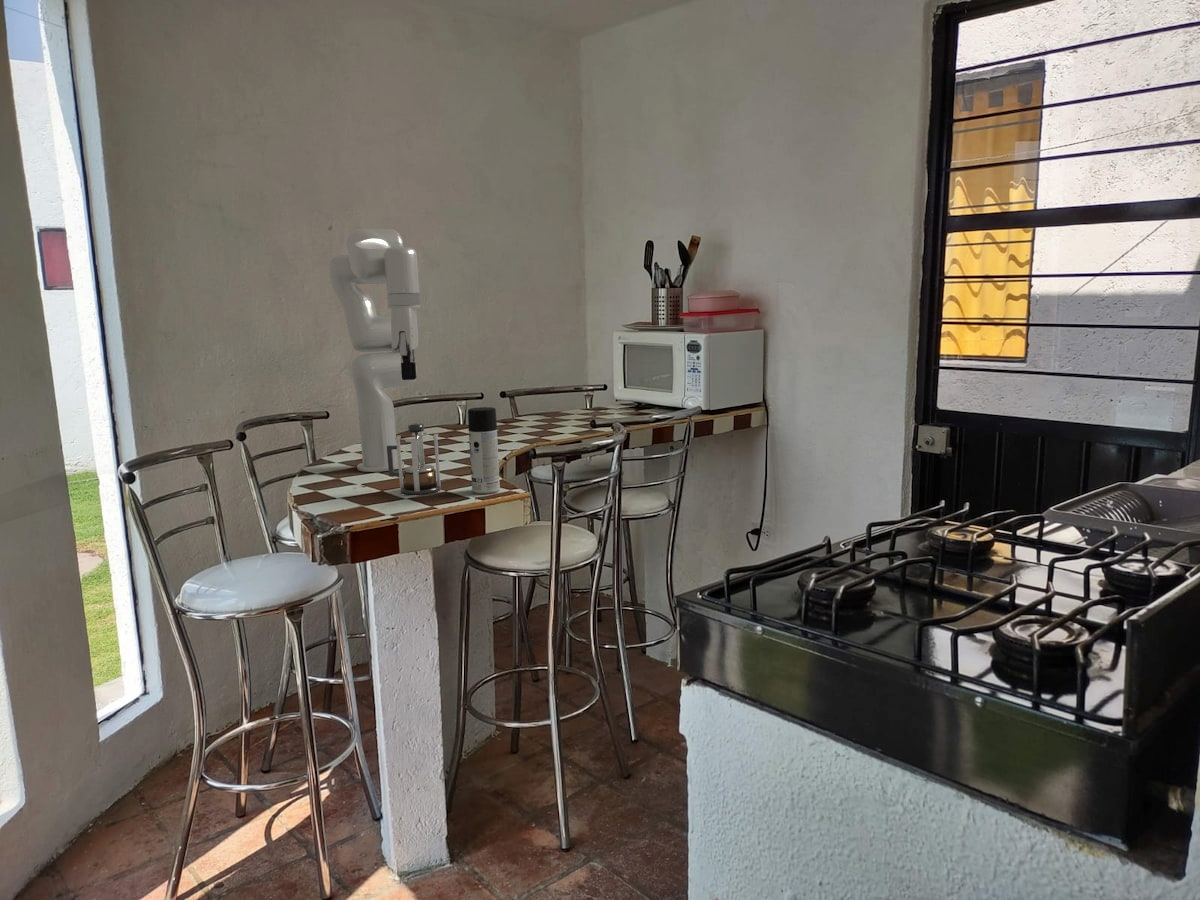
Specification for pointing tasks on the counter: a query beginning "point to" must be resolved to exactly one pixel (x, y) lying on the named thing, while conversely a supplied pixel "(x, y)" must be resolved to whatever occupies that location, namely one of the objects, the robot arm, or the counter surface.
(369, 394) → the robot arm
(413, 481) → the cafetera
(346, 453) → the counter surface
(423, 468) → the coffee press plunger
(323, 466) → the counter surface
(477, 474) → the spray can
